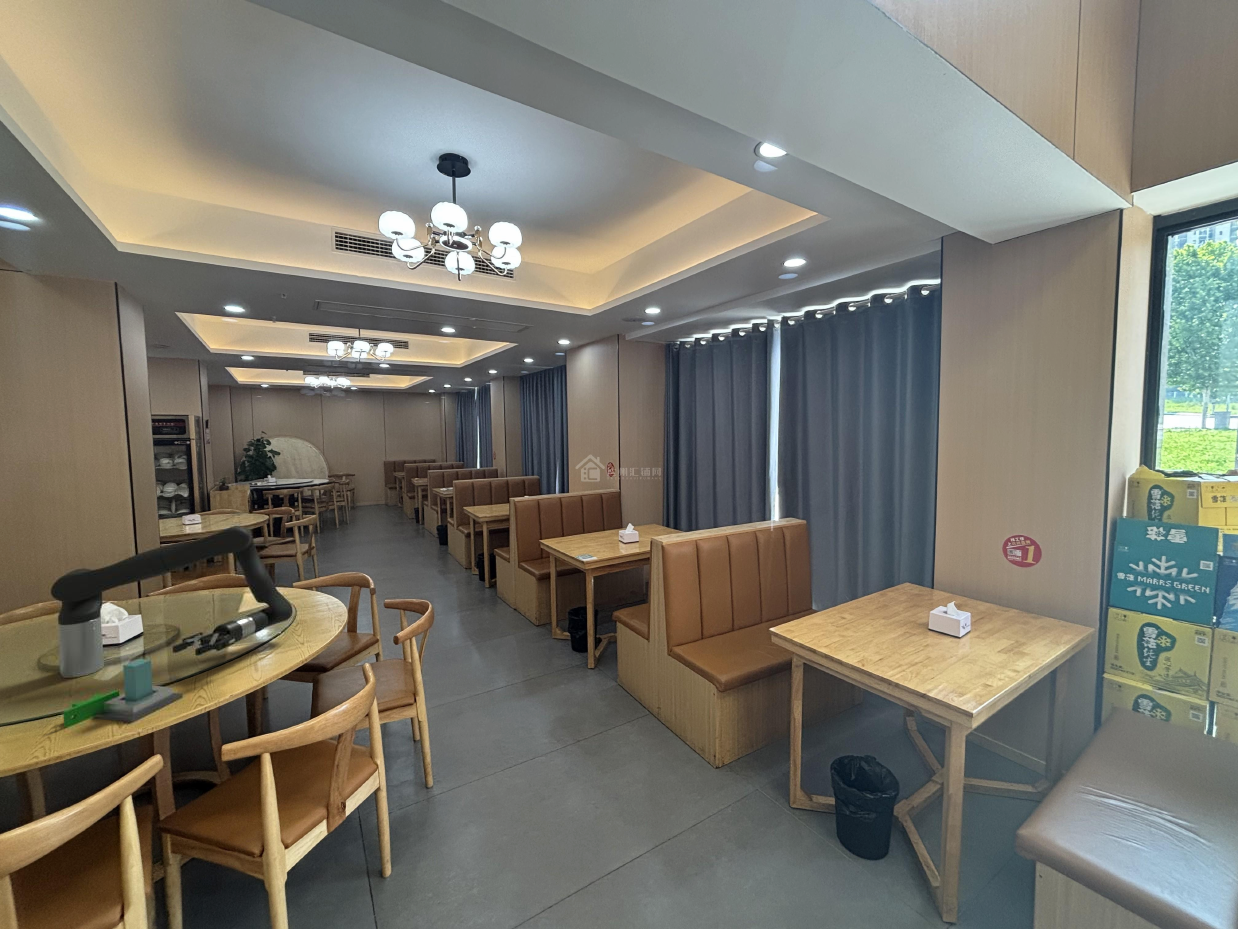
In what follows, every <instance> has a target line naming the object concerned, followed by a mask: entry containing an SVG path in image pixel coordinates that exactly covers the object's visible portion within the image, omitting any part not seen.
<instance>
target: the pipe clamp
mask: <svg viewBox="0 0 1238 929" xmlns="http://www.w3.org/2000/svg"><path fill="white" fill-rule="evenodd" d="M118 696H120V690H118V689H116V690H114V691H111V692H108V693H106V694H98V693H96V694H94V695H93V697H92V698H89V700H84V701H79V702H72V703H71V707H70V708H68V709H66V710H63V711H62V714H63V715H62V716H63V727H64V728H66V729H67V728H69V727H72V726H75V725H78V724H79V723H83V722H84V721H86V720H89V719H92V718H93V714H94V713H97V712H99V711H101V710H103V709H104V702H107V701H109V700H111V699H113V698H116V697H118Z"/></svg>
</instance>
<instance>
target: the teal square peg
mask: <svg viewBox="0 0 1238 929" xmlns="http://www.w3.org/2000/svg"><path fill="white" fill-rule="evenodd" d="M152 671H153V670H152V660H151V659H145V658H138V659H136V660H133V661H131V662H127V663H125V664H123V681H124V682H123V683H124V684H123V685H124V694H125V701H132V702H137V701H139V700H141V699H143V698H145V697H147V696H149V695H151V694H153V689H152V685H153V677H152V676H153V673H152Z"/></svg>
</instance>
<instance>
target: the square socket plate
mask: <svg viewBox="0 0 1238 929" xmlns="http://www.w3.org/2000/svg"><path fill="white" fill-rule="evenodd" d="M152 689H153V694H151V695H149V696H147V697H145V698H143V699H141V700H139V701H137V702H132V701H125V693H122V694H119V696H118V697H116V698H113V699H111V700H109V701H107V702H104V709H103V710H101V711H99V712H97V713H94V714H93V717H92V718H94V719H101V720H109V721H116V722H123V723H130V724H133V723H135V722H137V721H139V720H140V719H142V718H145V717H146V716H148V715H150V714H153V713H154V712H156V711H159V710H160V709H163V708H164V707H166V706H168V705H170V704H172V703H174V702H176V701H178V700H180V699H182V698H183V696H184V695H183V693H178V692H177V693H176V692H174V691H173V690H174V689H173V687H168V686H167V687H166V686H161V685H159V686H158V685H154V684H152Z"/></svg>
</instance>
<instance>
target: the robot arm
mask: <svg viewBox="0 0 1238 929" xmlns="http://www.w3.org/2000/svg"><path fill="white" fill-rule="evenodd" d="M254 541H255V540H254V538H253V532H252V531H251V530H250V529H249V527H246V526H243V525H234V526H230V527H228V528H225V529H223V530H221V531H219V532H217V533H214V534H211V535H209V536H205V537H203V538H199V539H194V540H189V541H183V542H176V543H172V544H168V545H167V544H166V545H164V546H160V547H156V548H153V549H149V550H146V551H143V552H141V553H138V554H135V555H132V556H130V557H128V558H125V559H122V560H120V561H118V562H116V563H113V564H111V565H107V566H105V567H100V568H95V569H90V568H78V569H74V570H71V571H69V572H67V573H66V574H64V575H62V576H60V577H59V578H57V579H56V581H55V582H54V583H53V584H52V586H51V588H50V594H51V596H52V598H53V599H55V600H56V601H58V602H61V607H60V611H59V613H58V615H57V621H58V622H57V625H58V633H59V634H58V637H59V645H58V661H59V673H60V675H61V677H62V678H63V679H64V678H66V679H72V678H78V677H83V676H87V675H90V674H93V673H96V672H98V671H100V670H101V669H103V668H104V666H105V665H104V648H103V630H102V616H101V615H102V613H101V611H102V608H103V607H102V606H103V592H105V591H109V590H112V589H114V588H118V587H122V586H124V585H129V584H133V583H137V582H140V581H144V580H149V579H152V578H155V577H159V576H162V575H166V574H169V573H172V572H175V571H178V570H182V569H184V568H186V567H188V566H189V567H190V566H192V565H194V564H196V563H199V562H202V561H205V560H207V559H211V558H215V557H218V556H220V557H221V556H224V555H229V554H232V555H233V556H234V557H235V558H236V560H237V562H238V564H239V566H240V568H241V570H242V573H243V576H244V579H245V581H246V584H247V586H248V588H249V590H250V592H251V594H252V596H253V598H254V599H255V601H256V602H257V603H259V604H265V605H267V607H264V608H262V609H260V610H258V611H255V612H251V613H249V614H246V615H244V616H241V617H237V618H234V619H231V620H228V621H226V622H224V623H221V624H219V625H217V626H216V627H215V628H214V629H213V630H212V632H207V633H205V634H204V632H202V631H201V632H198V633H195V634H192V635H190V636H187V637H184V638H182V639H181V643H178V644H175V645H173V646H172V653H174V654H176V653H179V652H181V651H184V650H187V649H191V648H195V649H194V650H195V652H194V655H195V656H198V657H199V656H202V655H203V654H206V653H208V652H214V651H216V652H219V651H220V652H221V651H222V650H224V649H226V648H228V647H230V646H232V645H235V643H238V642H240V641H242V640H244V639H247V638H248V637H250V636H252V635H254V634H256V633H259V632H261V631H263V630H265V628H268V627H271V626H274V625H276V624H279V623H282V622H285V621H288V620H289V619H290V618H291V617H292V616H293V612H294V611H293V607H292V604H291V602H290V601H289V600H288V599H287V598H286V597H285V595H283V594H282V593H281V592H280V591H278V589H277V587H276V585H275V582H273V580H272V578H271V576H270V574H269V572H268V571H267V569H266V567H265V565H264V564H263V562H262V560H261V557H260V555H259V552H258V551H257V548H256V545H255V542H254ZM199 643H200V644H199Z"/></svg>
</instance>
